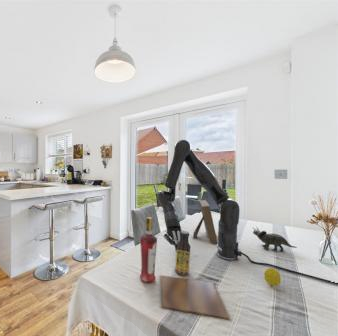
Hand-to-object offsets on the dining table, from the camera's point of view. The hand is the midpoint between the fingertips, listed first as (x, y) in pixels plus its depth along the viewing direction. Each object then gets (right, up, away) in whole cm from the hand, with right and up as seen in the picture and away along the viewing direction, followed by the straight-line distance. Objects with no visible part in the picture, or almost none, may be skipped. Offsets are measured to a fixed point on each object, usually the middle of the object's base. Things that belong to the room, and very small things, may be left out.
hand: (179, 252), depth 98 cm
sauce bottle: (0, -8, -4) cm, 9 cm away
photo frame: (+32, -7, +43) cm, 55 cm away
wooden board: (-3, -9, -20) cm, 21 cm away
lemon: (+36, -9, -13) cm, 39 cm away
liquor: (-18, -8, -10) cm, 22 cm away
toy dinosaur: (+67, -9, +24) cm, 72 cm away
